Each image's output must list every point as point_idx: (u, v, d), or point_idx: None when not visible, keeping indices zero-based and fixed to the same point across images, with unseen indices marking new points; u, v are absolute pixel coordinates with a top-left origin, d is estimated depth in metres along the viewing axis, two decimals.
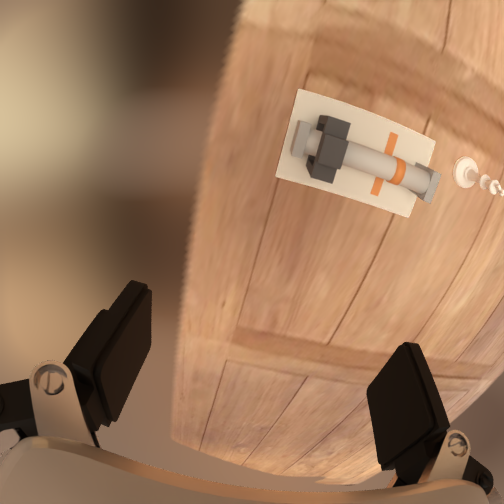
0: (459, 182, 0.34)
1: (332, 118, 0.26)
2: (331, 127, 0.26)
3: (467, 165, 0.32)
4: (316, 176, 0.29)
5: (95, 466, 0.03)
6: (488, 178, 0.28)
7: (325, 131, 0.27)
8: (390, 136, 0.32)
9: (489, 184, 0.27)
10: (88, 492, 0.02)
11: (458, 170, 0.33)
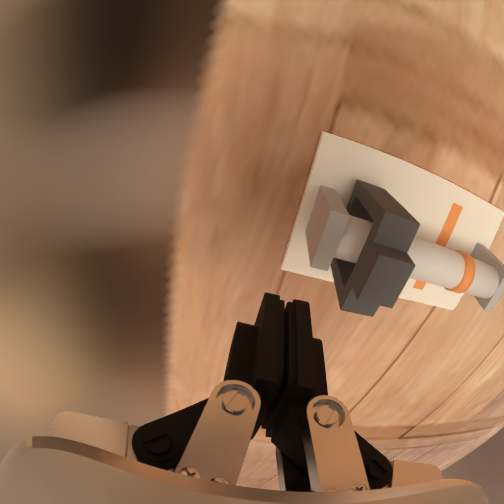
0: None
1: (391, 216, 0.14)
2: (387, 232, 0.15)
3: None
4: (350, 308, 0.17)
5: (95, 466, 0.03)
6: None
7: (376, 239, 0.15)
8: (452, 210, 0.21)
9: None
10: (88, 492, 0.02)
11: None
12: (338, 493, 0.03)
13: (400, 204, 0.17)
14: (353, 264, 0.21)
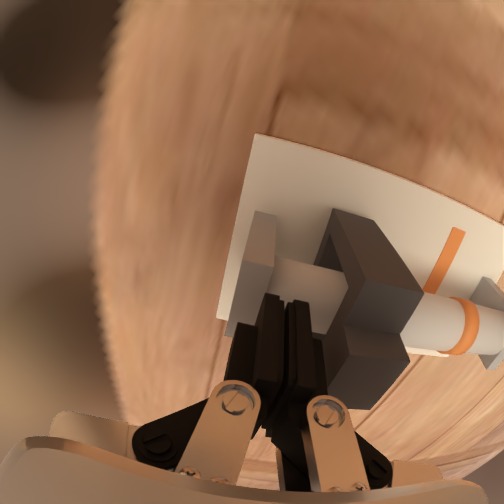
0: None
1: (376, 286, 0.09)
2: (368, 310, 0.09)
3: None
4: None
5: (95, 466, 0.03)
6: None
7: (349, 321, 0.09)
8: (451, 237, 0.15)
9: None
10: (88, 492, 0.02)
11: None
12: (338, 493, 0.03)
13: (395, 250, 0.11)
14: None
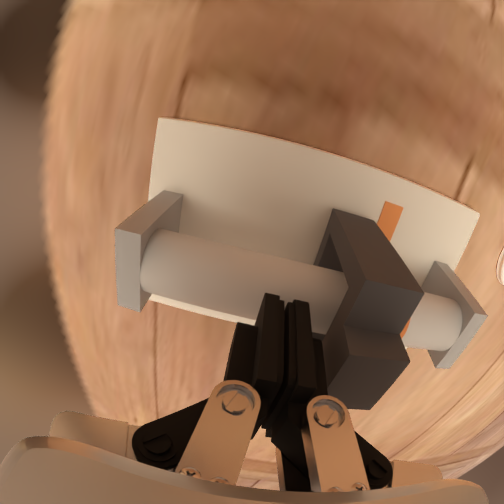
0: None
1: (376, 286, 0.09)
2: (368, 310, 0.09)
3: None
4: None
5: (95, 466, 0.03)
6: None
7: (349, 321, 0.09)
8: (384, 213, 0.15)
9: None
10: (88, 492, 0.02)
11: None
12: (338, 493, 0.03)
13: (395, 250, 0.11)
14: None
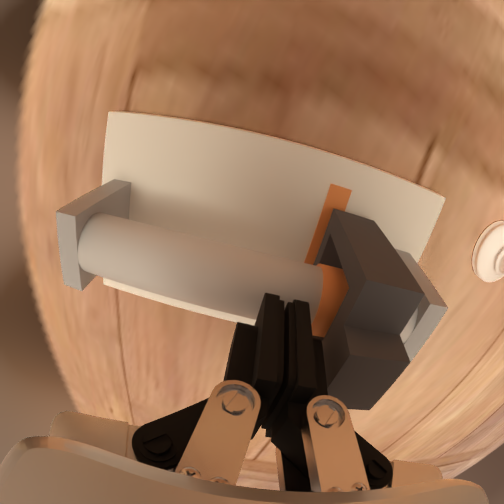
0: (482, 275, 0.16)
1: (376, 286, 0.09)
2: (368, 310, 0.09)
3: (503, 242, 0.14)
4: None
5: (95, 466, 0.03)
6: None
7: (349, 321, 0.09)
8: (329, 196, 0.15)
9: None
10: (88, 492, 0.02)
11: (484, 253, 0.15)
12: (338, 493, 0.03)
13: (395, 251, 0.11)
14: None
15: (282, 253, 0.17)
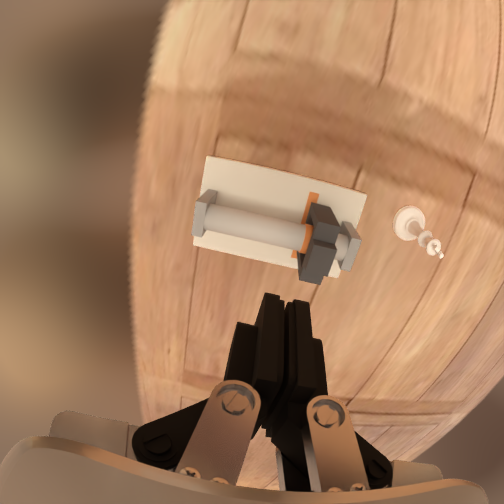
0: (400, 235, 0.35)
1: (321, 223, 0.28)
2: (320, 232, 0.28)
3: (409, 216, 0.34)
4: (304, 279, 0.31)
5: (95, 466, 0.03)
6: (429, 234, 0.30)
7: (314, 237, 0.28)
8: (309, 197, 0.34)
9: (426, 245, 0.28)
10: (88, 492, 0.02)
11: (398, 223, 0.34)
12: (338, 493, 0.03)
13: (334, 216, 0.31)
14: None
15: None
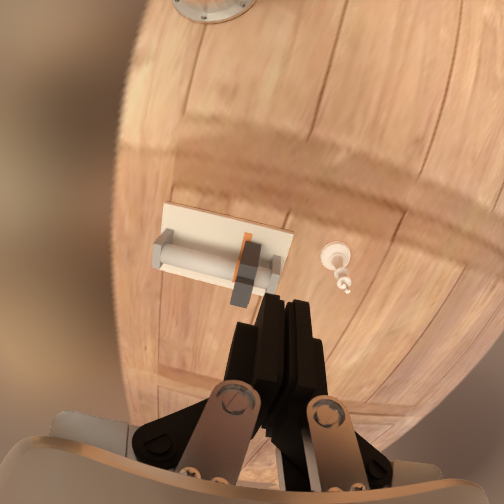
0: (326, 266, 0.45)
1: (242, 265, 0.37)
2: (242, 271, 0.38)
3: (334, 251, 0.43)
4: (233, 303, 0.40)
5: (95, 466, 0.03)
6: (344, 270, 0.39)
7: (237, 274, 0.38)
8: (244, 236, 0.44)
9: (337, 280, 0.38)
10: (88, 492, 0.02)
11: (323, 256, 0.44)
12: (338, 493, 0.03)
13: (259, 256, 0.40)
14: None
15: (229, 256, 0.45)
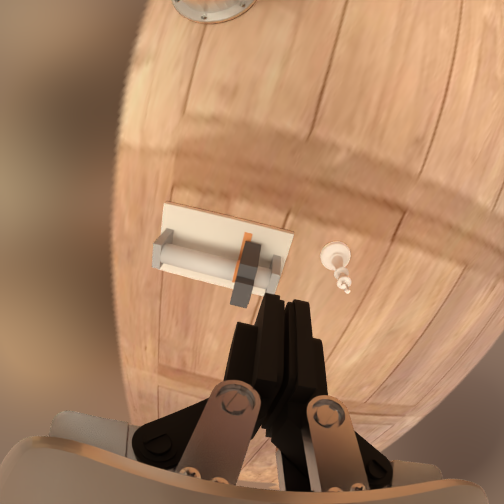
0: (326, 266, 0.45)
1: (242, 265, 0.37)
2: (242, 271, 0.38)
3: (334, 251, 0.43)
4: (233, 303, 0.40)
5: (95, 466, 0.03)
6: (344, 270, 0.39)
7: (237, 274, 0.38)
8: (244, 236, 0.44)
9: (337, 280, 0.38)
10: (88, 492, 0.02)
11: (323, 256, 0.44)
12: (338, 493, 0.03)
13: (259, 256, 0.40)
14: None
15: (229, 256, 0.45)
